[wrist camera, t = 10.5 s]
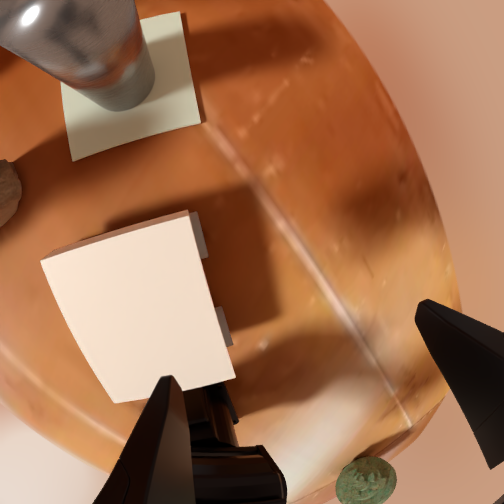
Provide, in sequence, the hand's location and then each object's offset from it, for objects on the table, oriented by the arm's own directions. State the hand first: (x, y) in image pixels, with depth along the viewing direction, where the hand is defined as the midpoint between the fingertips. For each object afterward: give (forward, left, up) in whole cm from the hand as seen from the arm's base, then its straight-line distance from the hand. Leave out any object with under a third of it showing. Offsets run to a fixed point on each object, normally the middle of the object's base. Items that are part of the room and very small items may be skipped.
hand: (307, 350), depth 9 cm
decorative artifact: (-41, -10, -13) cm, 44 cm away
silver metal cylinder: (+13, +5, -12) cm, 19 cm away
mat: (+13, +5, -12) cm, 19 cm away
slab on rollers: (-2, +7, -12) cm, 14 cm away
